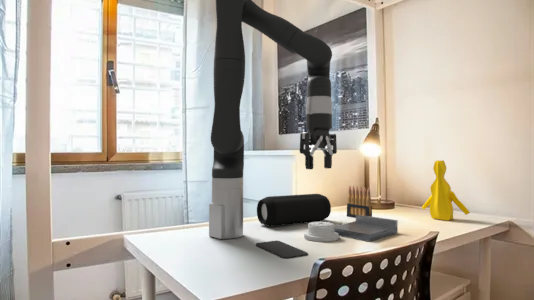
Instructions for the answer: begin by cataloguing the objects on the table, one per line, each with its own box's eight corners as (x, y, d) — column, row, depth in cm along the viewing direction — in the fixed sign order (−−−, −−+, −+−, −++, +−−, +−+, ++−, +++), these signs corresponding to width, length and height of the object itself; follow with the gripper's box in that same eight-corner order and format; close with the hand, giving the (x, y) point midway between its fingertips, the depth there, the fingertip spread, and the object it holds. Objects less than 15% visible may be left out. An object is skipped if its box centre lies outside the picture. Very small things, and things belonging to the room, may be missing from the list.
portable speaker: (316, 218, 139) (316, 192, 140) (332, 223, 131) (332, 194, 131) (255, 224, 128) (255, 195, 128) (268, 229, 119) (268, 198, 119)
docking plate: (369, 241, 102) (369, 227, 102) (328, 233, 112) (328, 220, 112) (397, 233, 113) (397, 220, 113) (357, 226, 123) (357, 214, 123)
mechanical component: (330, 244, 100) (343, 237, 109) (330, 228, 100) (343, 222, 109) (297, 239, 105) (312, 233, 114) (297, 224, 105) (312, 219, 114)
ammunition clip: (346, 216, 144) (346, 185, 144) (349, 215, 145) (349, 185, 145) (369, 220, 135) (369, 187, 135) (372, 219, 136) (372, 187, 137)
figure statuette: (472, 221, 133) (472, 160, 133) (463, 224, 128) (462, 160, 128) (424, 215, 147) (424, 159, 147) (414, 217, 142) (414, 160, 142)
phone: (284, 257, 85) (254, 243, 98) (284, 261, 85) (254, 246, 98) (310, 253, 89) (277, 240, 102) (310, 256, 89) (277, 243, 102)
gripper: (323, 116, 115) (323, 167, 115) (293, 112, 105) (292, 169, 105) (343, 114, 110) (343, 168, 110) (313, 110, 100) (313, 170, 100)
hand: (318, 168), depth 108 cm, fingers open, 8 cm apart
